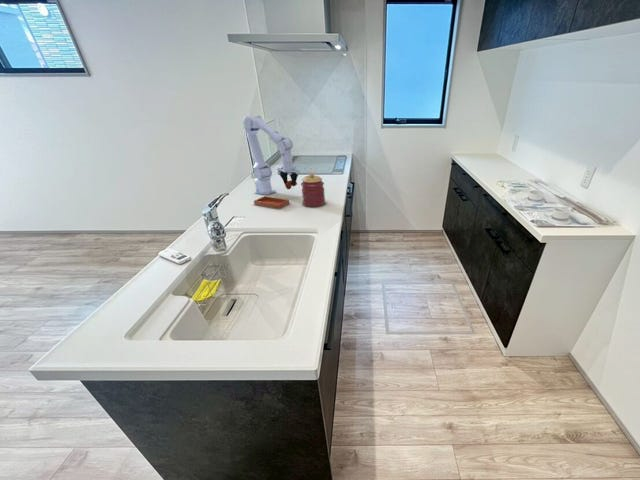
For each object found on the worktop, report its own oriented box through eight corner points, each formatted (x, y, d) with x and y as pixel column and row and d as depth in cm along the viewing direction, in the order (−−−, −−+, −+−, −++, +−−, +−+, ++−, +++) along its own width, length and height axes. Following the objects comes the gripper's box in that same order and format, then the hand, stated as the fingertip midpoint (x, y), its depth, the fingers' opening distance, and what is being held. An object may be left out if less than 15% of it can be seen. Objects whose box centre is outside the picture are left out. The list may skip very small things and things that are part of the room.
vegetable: (293, 184, 181) (298, 181, 192) (284, 180, 181) (289, 178, 192) (290, 191, 183) (296, 188, 194) (282, 188, 182) (287, 185, 193)
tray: (254, 204, 182) (253, 200, 180) (265, 199, 189) (264, 196, 188) (279, 209, 176) (278, 204, 174) (289, 203, 183) (288, 199, 182)
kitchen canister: (298, 205, 180) (295, 174, 171) (310, 199, 190) (307, 169, 181) (318, 208, 176) (316, 176, 167) (329, 201, 187) (327, 171, 177)
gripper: (272, 161, 180) (276, 185, 187) (293, 164, 175) (296, 188, 182) (280, 159, 185) (283, 182, 192) (300, 161, 180) (303, 185, 188)
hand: (290, 185), depth 188 cm, fingers closed on vegetable, 5 cm apart
